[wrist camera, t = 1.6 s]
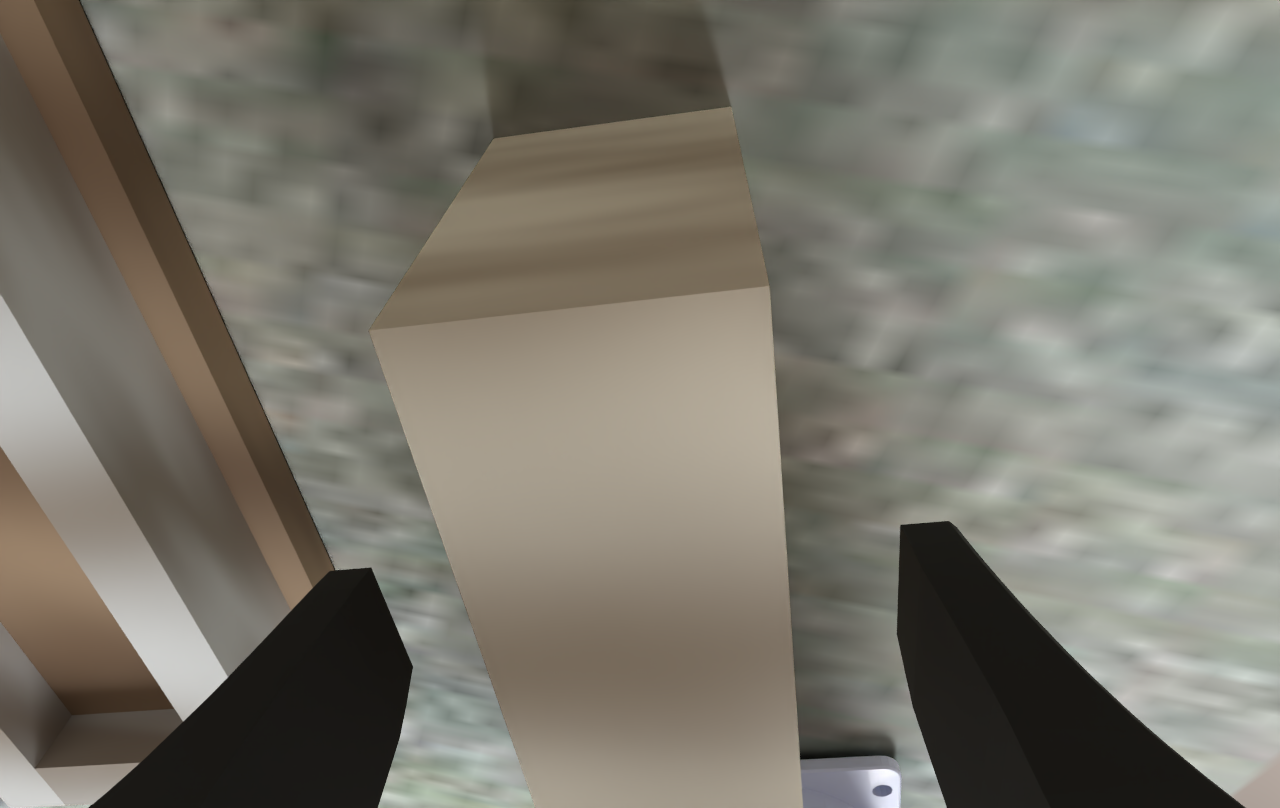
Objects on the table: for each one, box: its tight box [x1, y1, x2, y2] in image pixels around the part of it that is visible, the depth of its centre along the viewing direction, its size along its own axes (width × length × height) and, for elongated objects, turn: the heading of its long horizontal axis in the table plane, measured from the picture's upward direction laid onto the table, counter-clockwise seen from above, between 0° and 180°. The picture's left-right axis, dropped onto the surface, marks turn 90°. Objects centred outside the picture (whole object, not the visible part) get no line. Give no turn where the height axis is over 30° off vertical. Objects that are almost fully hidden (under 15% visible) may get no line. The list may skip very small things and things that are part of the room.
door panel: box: [369, 107, 803, 808], centre depth 14 cm, size 10×4×7 cm, turn 8°
